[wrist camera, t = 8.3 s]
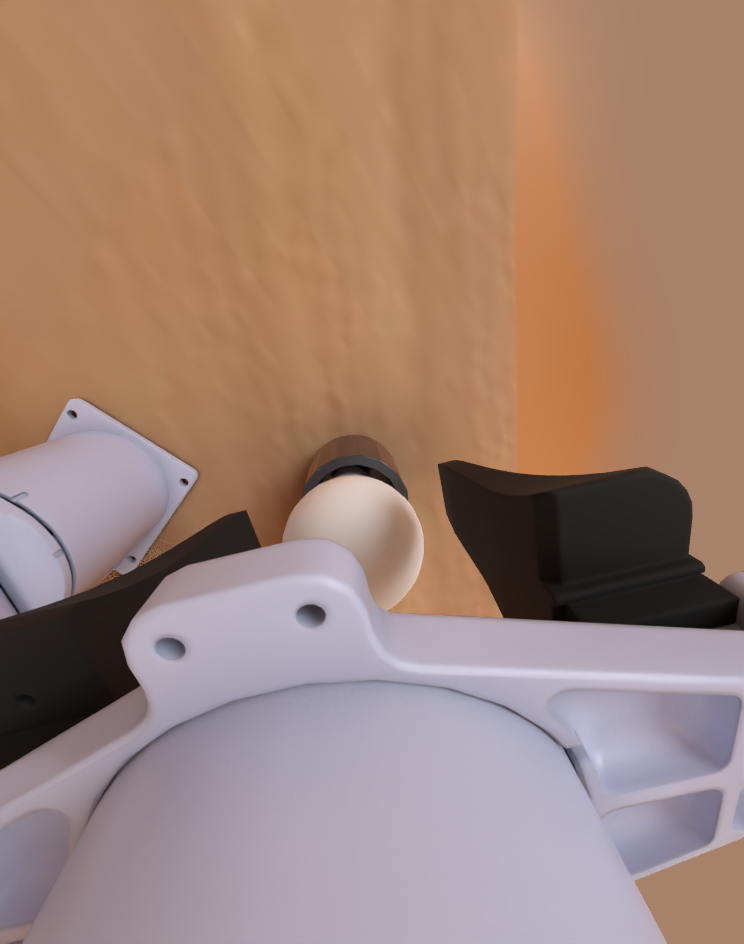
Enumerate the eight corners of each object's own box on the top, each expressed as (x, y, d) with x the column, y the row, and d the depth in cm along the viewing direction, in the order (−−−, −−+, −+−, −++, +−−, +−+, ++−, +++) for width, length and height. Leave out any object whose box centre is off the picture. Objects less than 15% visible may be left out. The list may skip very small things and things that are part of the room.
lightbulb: (415, 481, 23) (473, 590, 13) (348, 537, 24) (351, 679, 14) (353, 413, 21) (361, 478, 11) (283, 477, 22) (231, 590, 12)
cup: (360, 532, 25) (364, 570, 21) (291, 485, 23) (279, 517, 19) (414, 469, 24) (430, 496, 19) (344, 416, 22) (344, 433, 18)
